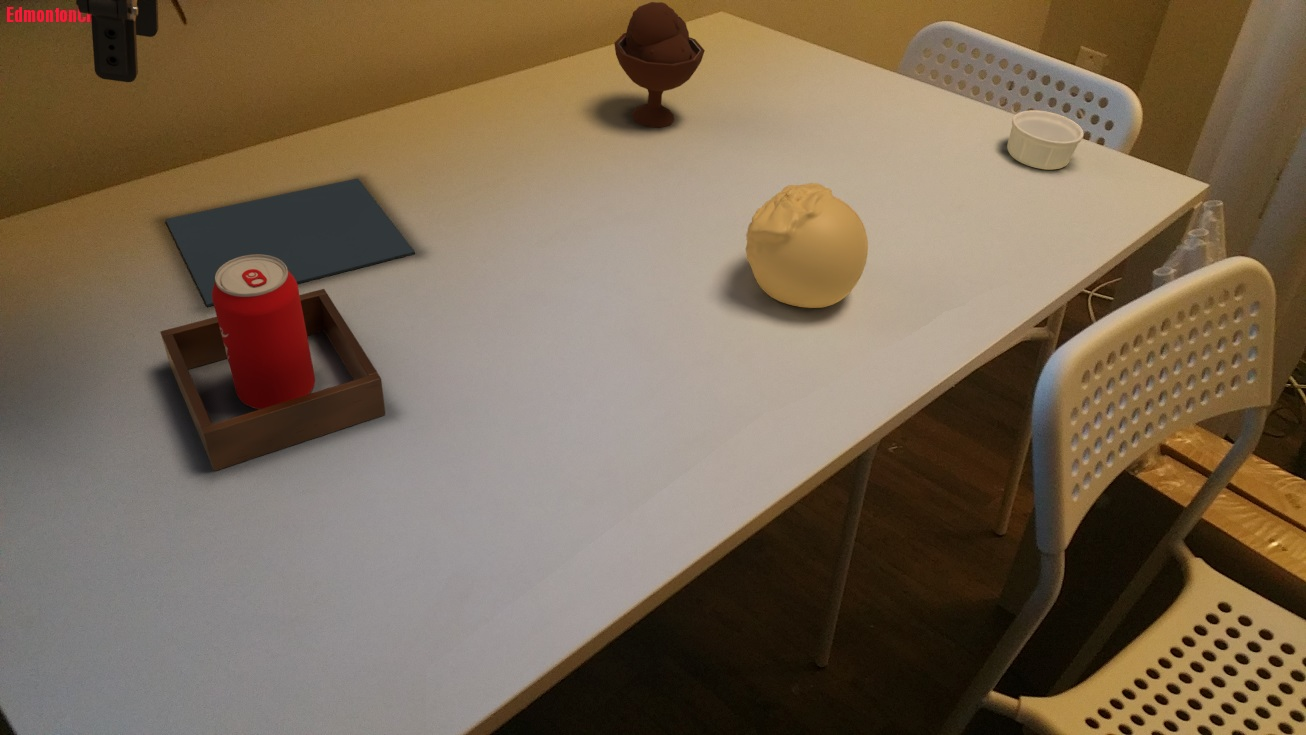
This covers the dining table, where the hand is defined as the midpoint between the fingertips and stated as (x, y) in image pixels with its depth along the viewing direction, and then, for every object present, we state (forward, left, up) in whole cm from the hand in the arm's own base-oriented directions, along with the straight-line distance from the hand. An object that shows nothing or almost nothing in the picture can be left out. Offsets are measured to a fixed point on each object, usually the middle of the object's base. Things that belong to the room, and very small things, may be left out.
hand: (128, 55), depth 63 cm
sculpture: (+54, -10, -29) cm, 62 cm away
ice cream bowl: (+61, +28, -29) cm, 74 cm away
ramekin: (+102, -1, -29) cm, 106 cm away
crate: (+4, -2, -29) cm, 29 cm away
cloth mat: (+12, +20, -29) cm, 38 cm away
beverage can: (+4, -2, -29) cm, 30 cm away
